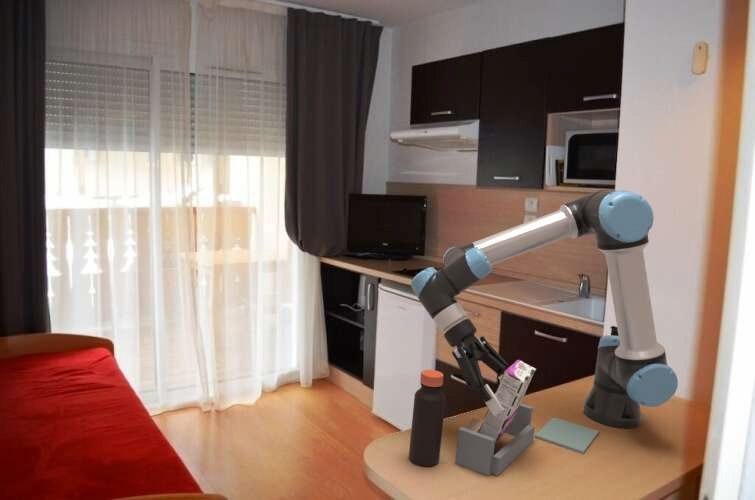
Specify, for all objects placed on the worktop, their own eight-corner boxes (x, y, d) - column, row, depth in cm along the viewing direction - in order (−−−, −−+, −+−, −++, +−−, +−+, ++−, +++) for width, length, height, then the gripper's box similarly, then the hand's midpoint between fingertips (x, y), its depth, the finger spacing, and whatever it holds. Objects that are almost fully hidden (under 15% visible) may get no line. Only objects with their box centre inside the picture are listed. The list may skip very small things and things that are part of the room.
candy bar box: (491, 415, 138) (517, 358, 134) (510, 426, 136) (537, 368, 132) (476, 431, 128) (504, 370, 124) (496, 444, 126) (524, 382, 122)
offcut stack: (485, 441, 137) (487, 422, 136) (474, 454, 130) (476, 434, 129) (470, 436, 139) (472, 417, 138) (458, 449, 132) (460, 429, 131)
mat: (598, 433, 147) (599, 431, 147) (583, 453, 134) (583, 451, 134) (553, 419, 153) (553, 417, 153) (534, 437, 141) (534, 435, 141)
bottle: (445, 461, 125) (454, 375, 123) (425, 470, 121) (434, 381, 118) (422, 449, 130) (430, 366, 127) (402, 457, 125) (410, 371, 123)
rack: (535, 439, 140) (538, 408, 139) (494, 478, 120) (499, 443, 118) (499, 427, 145) (502, 397, 144) (455, 463, 125) (458, 429, 124)
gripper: (466, 325, 148) (516, 398, 141) (420, 343, 129) (475, 428, 122) (486, 309, 144) (539, 383, 138) (443, 326, 125) (501, 412, 118)
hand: (509, 405), depth 130 cm, fingers closed on candy bar box, 11 cm apart
